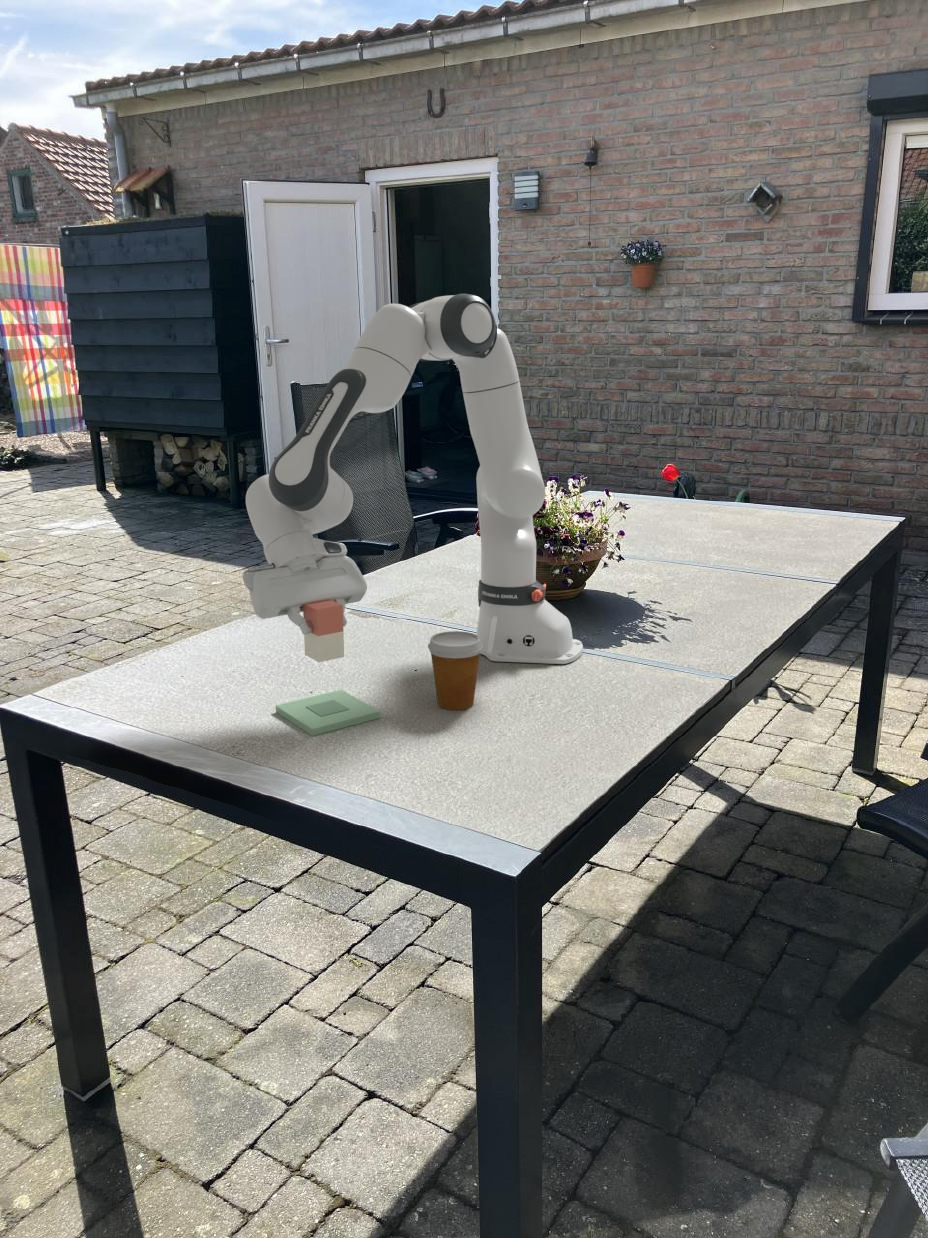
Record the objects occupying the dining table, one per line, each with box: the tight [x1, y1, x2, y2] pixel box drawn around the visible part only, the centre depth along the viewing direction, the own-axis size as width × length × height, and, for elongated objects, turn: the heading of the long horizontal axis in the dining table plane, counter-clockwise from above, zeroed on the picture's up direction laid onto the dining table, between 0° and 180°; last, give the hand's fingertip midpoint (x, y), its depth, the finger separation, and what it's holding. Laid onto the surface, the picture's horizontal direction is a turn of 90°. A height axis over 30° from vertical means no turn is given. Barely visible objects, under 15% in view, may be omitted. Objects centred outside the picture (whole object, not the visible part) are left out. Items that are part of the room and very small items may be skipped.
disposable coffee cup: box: [427, 630, 483, 711], centre depth 179 cm, size 10×10×12 cm
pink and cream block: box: [302, 600, 345, 663], centre depth 171 cm, size 5×5×9 cm
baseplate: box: [275, 689, 381, 737], centre depth 175 cm, size 13×13×1 cm
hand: (325, 629), depth 170 cm, fingers closed on pink and cream block, 5 cm apart
